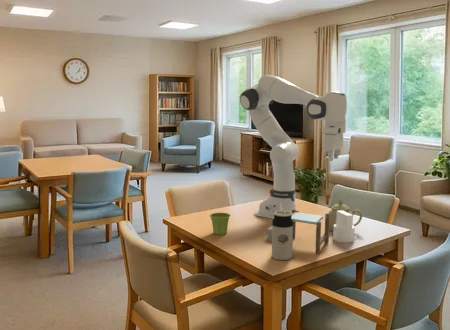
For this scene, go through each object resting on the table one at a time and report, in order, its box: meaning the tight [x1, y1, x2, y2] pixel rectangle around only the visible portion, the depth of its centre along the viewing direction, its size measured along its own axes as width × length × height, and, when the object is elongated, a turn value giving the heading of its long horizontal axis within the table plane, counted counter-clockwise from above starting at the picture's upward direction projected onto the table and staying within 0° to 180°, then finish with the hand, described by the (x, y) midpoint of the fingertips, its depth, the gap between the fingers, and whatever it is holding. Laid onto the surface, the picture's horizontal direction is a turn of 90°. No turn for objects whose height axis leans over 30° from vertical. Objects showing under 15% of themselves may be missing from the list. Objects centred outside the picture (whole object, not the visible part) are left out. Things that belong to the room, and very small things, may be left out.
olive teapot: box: [328, 198, 363, 232], centre depth 214 cm, size 15×11×15 cm
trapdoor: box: [291, 212, 324, 226], centre depth 191 cm, size 15×11×2 cm
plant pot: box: [209, 212, 231, 236], centre depth 208 cm, size 9×9×9 cm
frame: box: [292, 209, 330, 255], centre depth 191 cm, size 16×16×13 cm
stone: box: [266, 225, 272, 241], centre depth 200 cm, size 5×5×5 cm
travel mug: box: [271, 210, 294, 261], centre depth 177 cm, size 8×8×18 cm
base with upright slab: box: [332, 210, 356, 243], centre depth 200 cm, size 9×9×12 cm
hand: (333, 159), depth 200 cm, fingers open, 8 cm apart
